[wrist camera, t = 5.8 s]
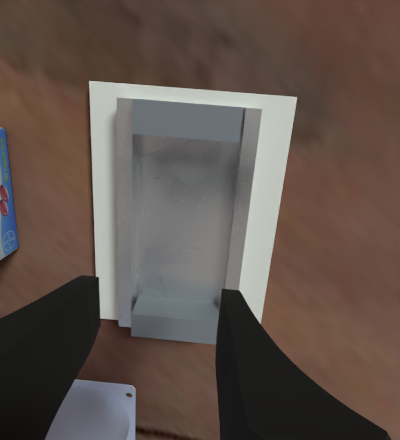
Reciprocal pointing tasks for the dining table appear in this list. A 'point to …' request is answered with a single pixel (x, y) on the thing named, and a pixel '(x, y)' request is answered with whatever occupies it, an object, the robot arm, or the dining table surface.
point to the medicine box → (6, 203)
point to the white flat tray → (184, 202)
